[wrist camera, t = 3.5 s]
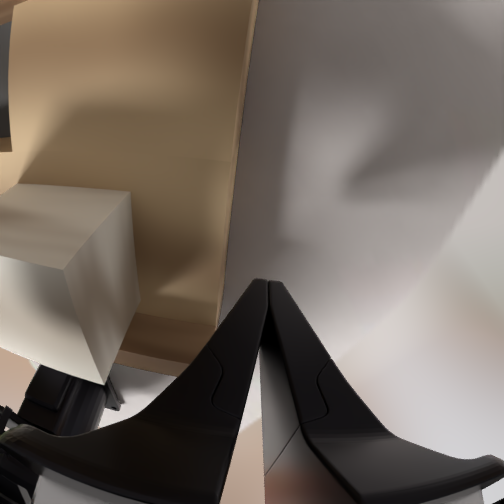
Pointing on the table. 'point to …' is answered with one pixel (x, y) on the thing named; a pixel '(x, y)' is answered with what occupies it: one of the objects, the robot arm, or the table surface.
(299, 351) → the robot arm
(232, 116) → the box
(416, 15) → the table surface
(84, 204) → the block
